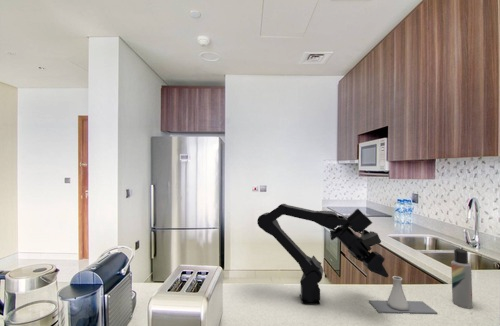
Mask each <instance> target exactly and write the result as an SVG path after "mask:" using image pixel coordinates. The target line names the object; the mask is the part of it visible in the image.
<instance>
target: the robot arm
mask: <svg viewBox="0 0 500 326" xmlns="http://www.w3.org/2000/svg"><path fill="white" fill-rule="evenodd" d="M282 216H288V217H292V218H298V219H301V220H306V221H311V222H314V223H316V224H318V225H319V226H322V227H324V228H327V229H329V238H330V240H331V241H334V240H335V239H337V240H339V242H341V243H342V245H344V247H345V248H346V249H347V253H349V254H350V255H351V256H352V257H353V258H354V259H356V260H357V261H359V262H362V264H363V266H364V267H365V268H366V269H368V271H370V272H371V273H375V274H377V275H379V276H382V277H384V278H388V277H389V273H388V272H387V270H386V268H385V267H384V261H385V260H386V259H385V257H383V255H382V254H381V253H379V252H377V251H371V250H372V249H373V246H375V245H377V244H379V245H380V244H381V243H382V240H381V238H380V236H379V234H378V233H377V232H375V231H371V230H370V231H368V230H367V228H368V227H370V226H371V225H372V224H373V222H372V221H371V219H370V218H369V217H368V216H367V215H366V214H365V213H363V212H362V211H361V209H360V208H356V209H354V211H353V212H352V213H350V214H349V215H348V216H345V215H340V214H338V213H337V212H336V211H333V210H313V209H307V208H303V207H299V206H294V205H289V204H286V203H281V204H279V205H278V206H277V207H276V208H274V209H273V210H271V211H270V212H264V213H262V214H261V215H259V216H258V218H257V220H256V221H257V226H258V227H259V228H260V229H261V230H263V232H265V234H268V235H270V236H272V237H273V238H274V239H275V240H276V241H277V242H278V243H279V244H280V245H281V246H282V247H283V249H285V251H286V252H287V253H288V254H289V255H290V256H291V257H292V258H293V260H295V262H296V263H297V264H298V266H299V267H300V269H301V271H302V275H301V279H300V294H299V299H300V301H301V303H302V305H321V302H320V301H321V289H320V287H319V284H318V283H320V282H321V281H322V279H323V274H324V268H323V266H322V262H321V261H319V260H318V259H317V258H316V256H315V255H312V256H311V257H310V256H308V255H307V254H306V253H305V252H304V251H303V250H302V249H301V247H299V246H298V245H297V243H295V241H294V240H292V238H291V237H290V236H289V235H288V233H286V231H284V229H282V228H281V225H280V222H279V221H278V219H279V218H280V217H282ZM356 233H359V234H360V233H361V235H360V236H359V235H357V234H356ZM369 251H371V252H369Z"/></svg>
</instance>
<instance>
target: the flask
mask: <svg viewBox="0 0 500 326" xmlns="http://www.w3.org/2000/svg"><path fill="white" fill-rule="evenodd" d="M392 280H393V281H392V282H393V283H392V288H391V291H390V293H389V295H388V298H387V300H386V301H387V305H389V306H390V307H391V308H393V309H397V310H401V311H402V310H409V305H408V302H407V301H408V300H407V297H406V295H405V292H404V289H403V284H402V281H403V277H401V276H397V275H393V276H392Z"/></svg>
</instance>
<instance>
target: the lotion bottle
mask: <svg viewBox="0 0 500 326" xmlns="http://www.w3.org/2000/svg"><path fill="white" fill-rule="evenodd" d="M453 256H454V257H453V260H452V261H450V262H451V263H450V264H451V293H452V294H451V295H452V296H451V297H452V303H453V304H454V305H455V306H458V307H461V308H464V309H472V308H473V280H472V279H473V278H472V276H473V275H472V273H473V272H472V265H471V263H469V259H468V256H469V255H468V250H465V249H462V248H455V249H453Z"/></svg>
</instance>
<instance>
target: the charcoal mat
mask: <svg viewBox="0 0 500 326" xmlns="http://www.w3.org/2000/svg"><path fill="white" fill-rule="evenodd" d="M368 301H369V302H370V303H369V302H368V303H369V304H370V305H371V306H372V307H373V309H374V310H375V309H376V310H375V311H376V312H377V313H378V314H403V313H410V314H411V315H414V314H416V315H420V314H421V315H438V312H437V311H436V310H434V309H433V308H432V307H431V306H429V305H428V304H427V303H425V302H424V301H423V300H422V301H421V300H420V301H419V300H407V302H408V305H409V310H402V311H401V310H397V309H393V308H391V307H390V306H389V305H387V300H379V299H378V300H374V299H373V300H372V299H371V300H368ZM410 314H409V315H410Z"/></svg>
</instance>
